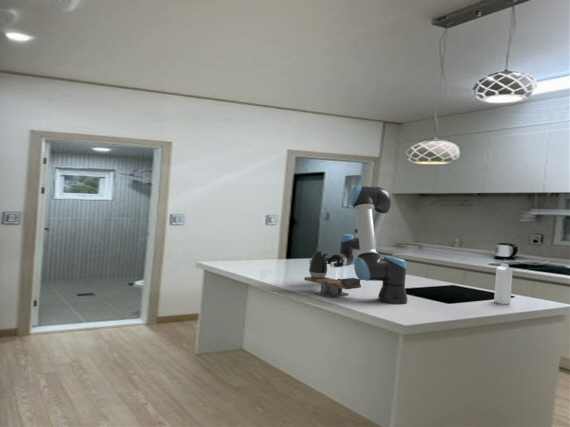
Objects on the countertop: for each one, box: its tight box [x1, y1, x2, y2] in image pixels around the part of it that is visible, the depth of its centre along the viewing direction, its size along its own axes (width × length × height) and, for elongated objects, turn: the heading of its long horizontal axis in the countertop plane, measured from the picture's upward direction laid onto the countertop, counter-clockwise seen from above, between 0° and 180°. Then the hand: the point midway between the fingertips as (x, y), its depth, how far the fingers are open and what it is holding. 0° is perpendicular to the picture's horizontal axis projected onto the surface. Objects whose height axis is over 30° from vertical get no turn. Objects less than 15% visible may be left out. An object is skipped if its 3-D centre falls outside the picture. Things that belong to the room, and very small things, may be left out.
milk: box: [493, 262, 514, 305], centre depth 265 cm, size 6×6×22 cm
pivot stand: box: [313, 278, 349, 299], centre depth 260 cm, size 12×15×8 cm
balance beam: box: [304, 276, 362, 290], centre depth 260 cm, size 30×12×4 cm, turn 45°
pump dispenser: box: [308, 250, 328, 279], centre depth 267 cm, size 10×10×15 cm
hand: (320, 263), depth 268 cm, fingers open, 13 cm apart
